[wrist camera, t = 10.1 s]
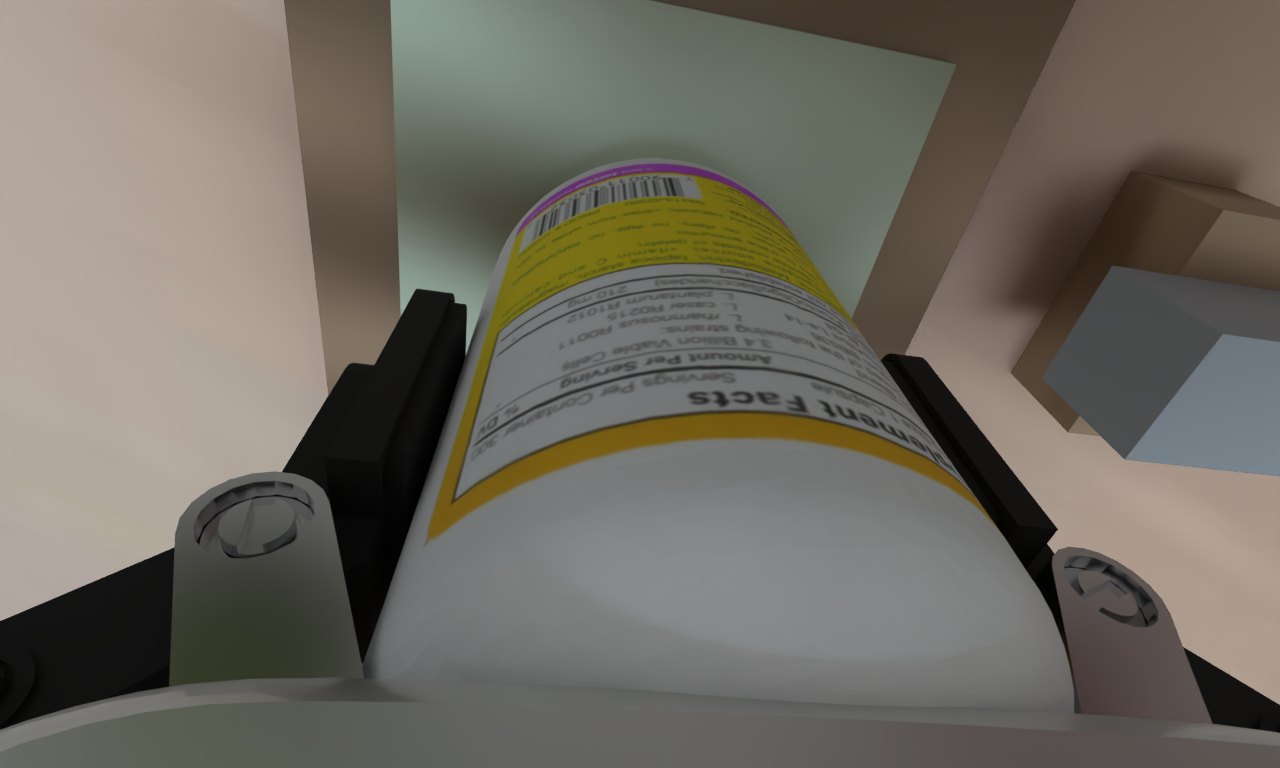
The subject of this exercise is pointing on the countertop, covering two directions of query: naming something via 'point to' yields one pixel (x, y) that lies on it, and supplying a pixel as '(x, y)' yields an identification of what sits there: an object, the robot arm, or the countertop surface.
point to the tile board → (649, 132)
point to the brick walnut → (1157, 260)
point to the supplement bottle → (698, 481)
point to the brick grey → (1177, 371)
